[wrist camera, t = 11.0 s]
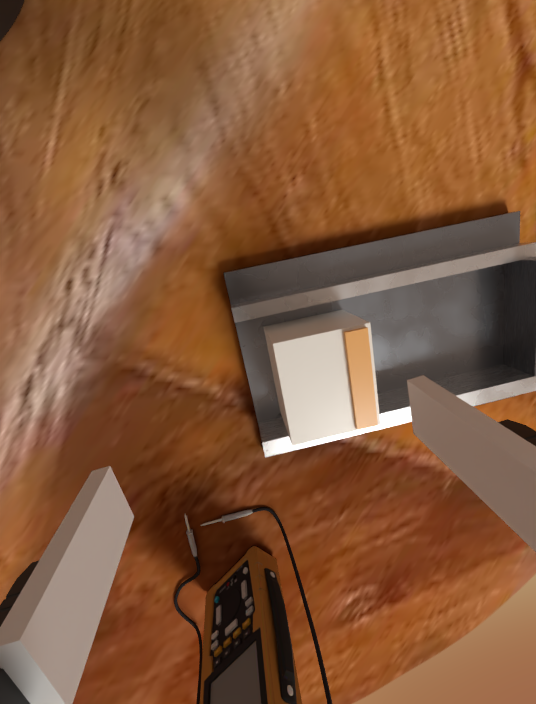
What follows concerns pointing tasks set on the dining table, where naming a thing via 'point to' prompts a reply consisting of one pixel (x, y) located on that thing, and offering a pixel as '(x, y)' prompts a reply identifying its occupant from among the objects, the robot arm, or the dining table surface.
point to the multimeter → (248, 632)
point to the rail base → (404, 315)
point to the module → (324, 375)
